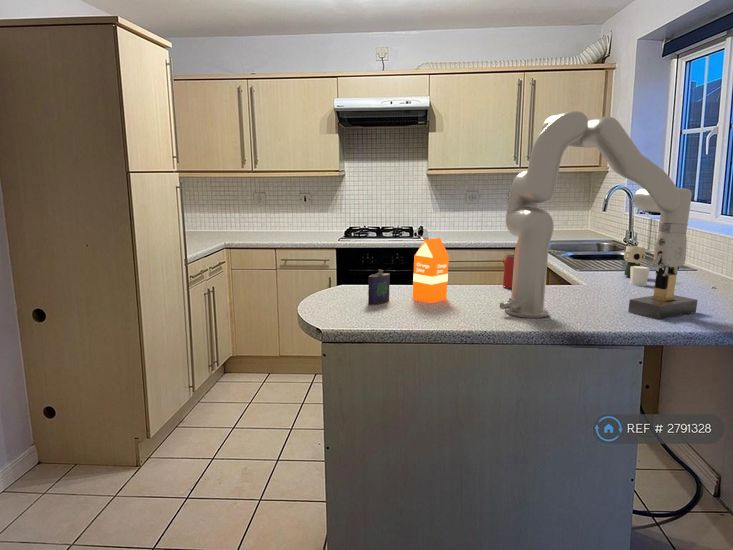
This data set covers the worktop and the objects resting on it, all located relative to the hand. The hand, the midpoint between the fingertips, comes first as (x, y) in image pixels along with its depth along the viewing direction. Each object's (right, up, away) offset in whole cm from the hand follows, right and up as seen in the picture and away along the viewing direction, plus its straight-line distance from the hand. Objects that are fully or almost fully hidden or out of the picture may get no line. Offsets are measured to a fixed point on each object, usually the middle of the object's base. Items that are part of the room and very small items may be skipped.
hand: (664, 287), depth 170 cm
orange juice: (-72, -4, +11) cm, 73 cm away
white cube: (+15, 0, +46) cm, 48 cm away
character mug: (+20, +3, +62) cm, 65 cm away
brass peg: (0, -6, +1) cm, 6 cm away
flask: (-89, -5, +4) cm, 89 cm away
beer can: (-39, -1, +33) cm, 51 cm away
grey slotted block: (0, -8, +2) cm, 8 cm away
